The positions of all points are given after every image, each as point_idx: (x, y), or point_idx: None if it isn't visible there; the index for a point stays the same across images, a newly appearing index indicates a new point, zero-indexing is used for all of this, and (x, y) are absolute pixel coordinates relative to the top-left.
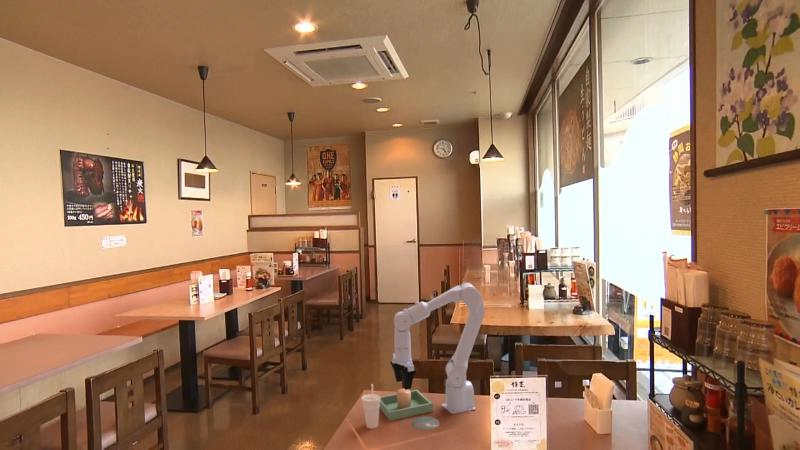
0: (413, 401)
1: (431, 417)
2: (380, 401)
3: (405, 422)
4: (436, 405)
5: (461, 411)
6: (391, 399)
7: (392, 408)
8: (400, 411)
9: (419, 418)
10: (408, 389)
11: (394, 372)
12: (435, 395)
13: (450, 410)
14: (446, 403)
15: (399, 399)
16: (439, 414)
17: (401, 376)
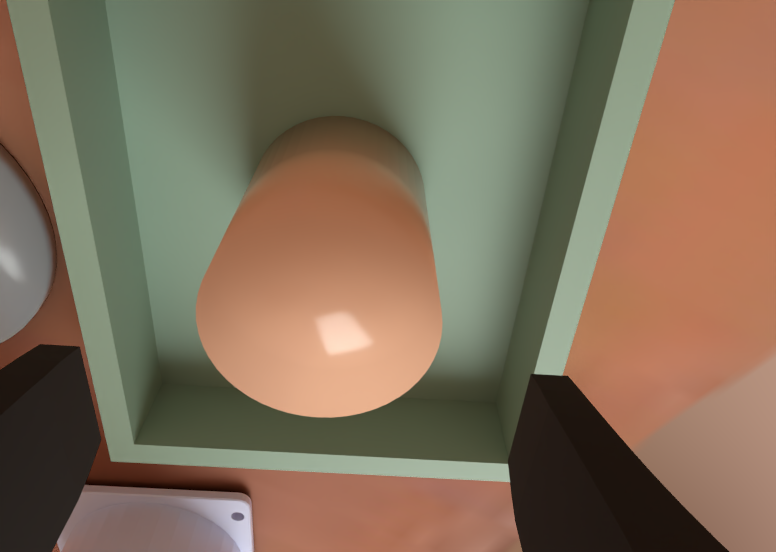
0: (439, 351)
1: (6, 334)
2: None
3: (8, 49)
4: None
5: (60, 550)
6: (574, 143)
7: (408, 63)
8: (26, 45)
9: (11, 227)
10: (349, 408)
11: (679, 532)
12: (465, 534)
13: (103, 505)
14: (155, 539)
15: (278, 179)
16: (98, 415)
17: (532, 536)
